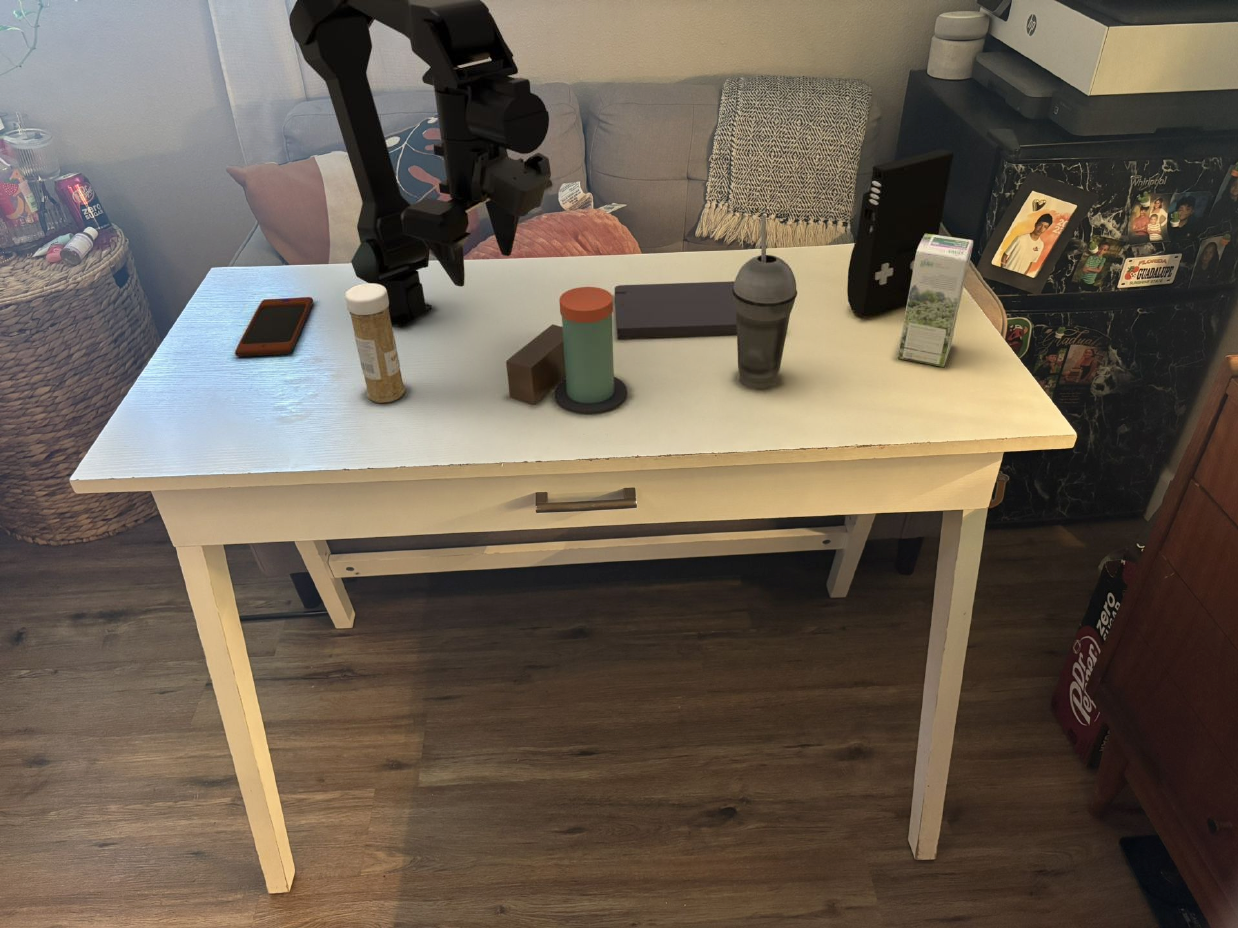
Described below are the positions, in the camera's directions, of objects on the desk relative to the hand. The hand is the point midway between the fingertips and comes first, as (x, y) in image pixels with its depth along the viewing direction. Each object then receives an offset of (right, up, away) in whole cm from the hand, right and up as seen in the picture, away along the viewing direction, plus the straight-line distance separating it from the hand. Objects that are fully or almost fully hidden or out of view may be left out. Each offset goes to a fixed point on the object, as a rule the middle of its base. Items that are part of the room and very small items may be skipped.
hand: (483, 270), depth 108 cm
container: (+8, -11, +3) cm, 14 cm away
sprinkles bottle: (-12, -14, +3) cm, 19 cm away
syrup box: (+54, -9, +8) cm, 55 cm away
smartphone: (-30, -4, +17) cm, 35 cm away
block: (+7, -12, +5) cm, 15 cm away
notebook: (+26, -2, +18) cm, 32 cm away
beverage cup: (+32, -12, +4) cm, 35 cm away
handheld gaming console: (+52, -1, +19) cm, 55 cm away
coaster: (+12, -14, +2) cm, 19 cm away
